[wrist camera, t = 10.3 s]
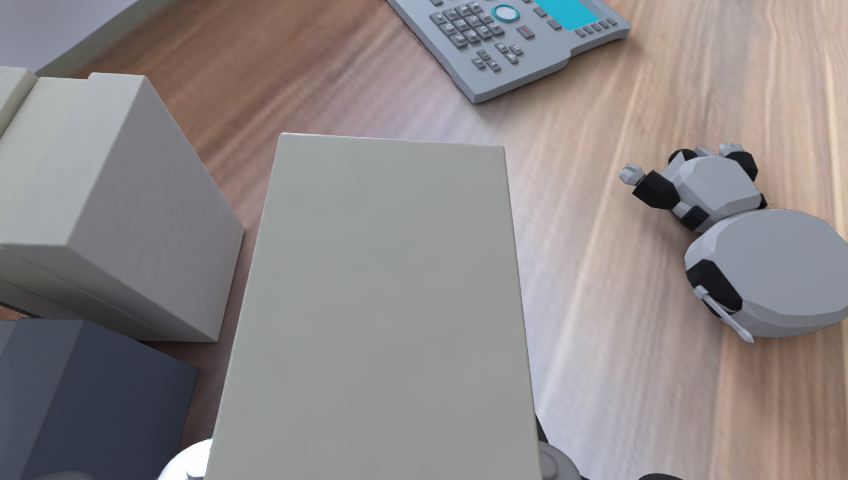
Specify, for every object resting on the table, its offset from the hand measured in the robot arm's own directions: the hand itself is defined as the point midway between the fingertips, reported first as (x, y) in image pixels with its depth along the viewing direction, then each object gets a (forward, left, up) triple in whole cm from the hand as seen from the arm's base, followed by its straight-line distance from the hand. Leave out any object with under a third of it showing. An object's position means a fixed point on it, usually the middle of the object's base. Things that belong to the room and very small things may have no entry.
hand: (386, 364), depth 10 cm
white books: (-14, +8, -15) cm, 22 cm away
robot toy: (+24, +12, -15) cm, 31 cm away
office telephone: (+9, +40, -15) cm, 44 cm away
